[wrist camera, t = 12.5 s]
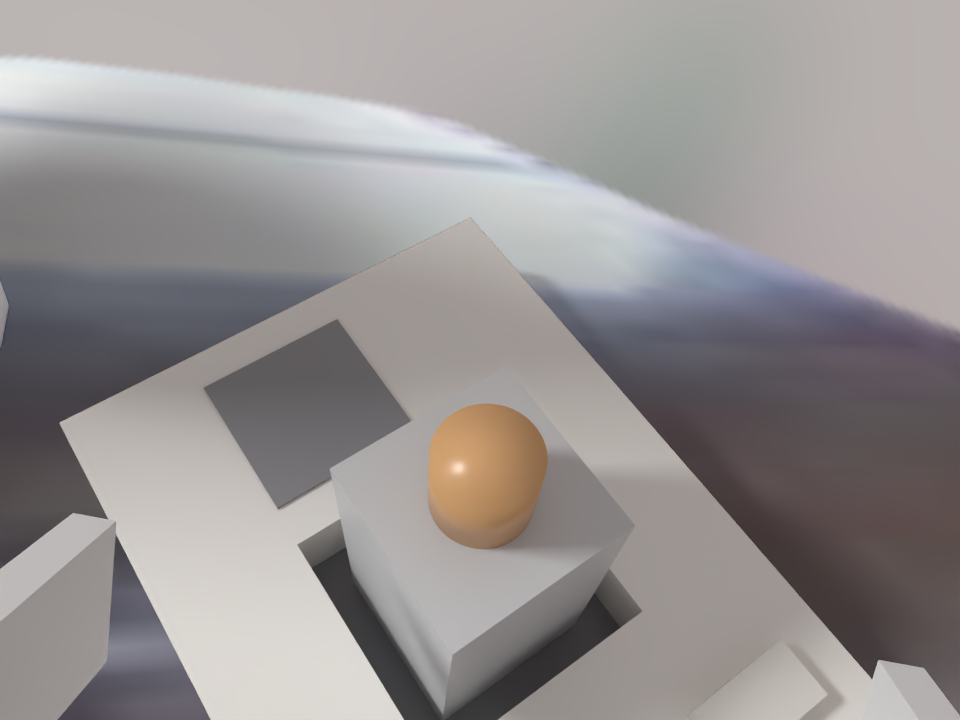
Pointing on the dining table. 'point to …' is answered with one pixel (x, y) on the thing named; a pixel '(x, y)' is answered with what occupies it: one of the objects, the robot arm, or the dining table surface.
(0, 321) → the decorative candle
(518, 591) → the egg topped pedestal
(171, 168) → the dining table surface
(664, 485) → the socket plate
